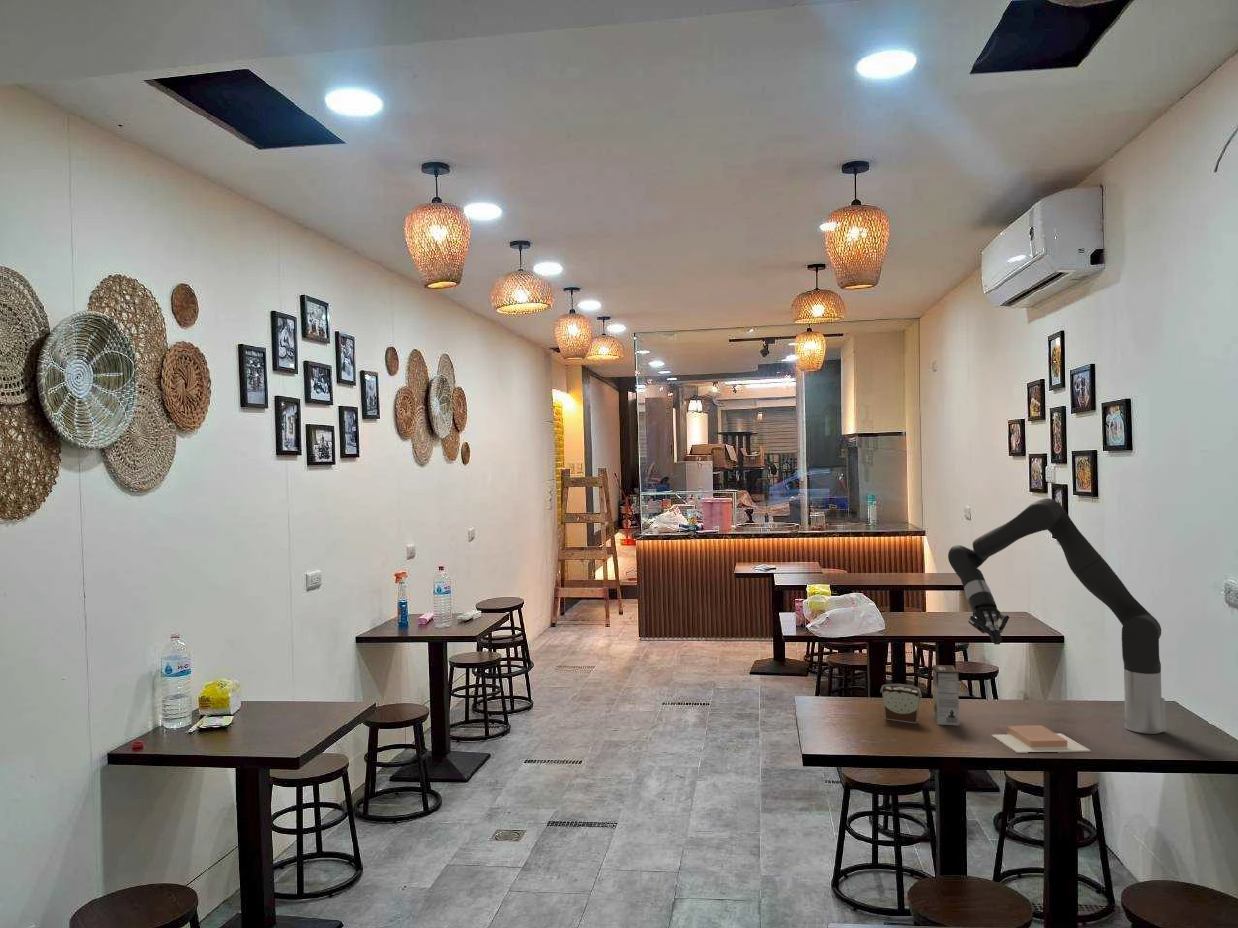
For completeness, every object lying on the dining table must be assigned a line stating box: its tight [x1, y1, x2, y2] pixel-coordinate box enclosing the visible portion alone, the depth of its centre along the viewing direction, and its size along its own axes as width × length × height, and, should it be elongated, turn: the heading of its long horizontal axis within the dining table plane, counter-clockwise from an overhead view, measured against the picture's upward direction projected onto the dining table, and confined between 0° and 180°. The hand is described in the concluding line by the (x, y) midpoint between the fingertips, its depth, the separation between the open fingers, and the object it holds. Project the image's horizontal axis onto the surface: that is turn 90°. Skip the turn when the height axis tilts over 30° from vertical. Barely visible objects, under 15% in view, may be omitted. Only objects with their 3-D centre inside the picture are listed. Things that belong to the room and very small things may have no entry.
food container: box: [879, 683, 923, 724], centre depth 264 cm, size 12×6×10 cm, turn 58°
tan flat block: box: [1006, 724, 1067, 748], centre depth 240 cm, size 10×2×14 cm
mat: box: [991, 733, 1092, 754], centre depth 238 cm, size 20×15×1 cm
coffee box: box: [932, 664, 960, 726], centre depth 261 cm, size 9×6×16 cm
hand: (998, 642), depth 264 cm, fingers closed
